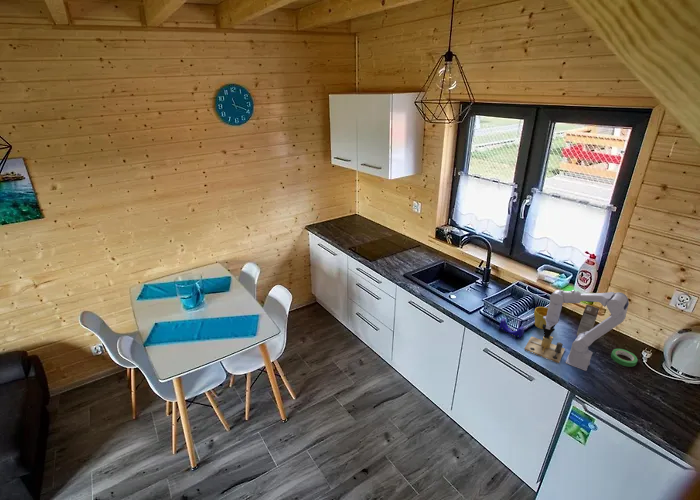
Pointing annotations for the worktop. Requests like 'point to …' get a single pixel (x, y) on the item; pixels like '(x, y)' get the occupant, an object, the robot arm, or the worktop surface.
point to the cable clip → (505, 328)
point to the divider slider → (546, 342)
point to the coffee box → (588, 319)
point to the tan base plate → (551, 353)
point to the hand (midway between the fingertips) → (548, 334)
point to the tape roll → (621, 361)
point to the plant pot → (540, 316)
